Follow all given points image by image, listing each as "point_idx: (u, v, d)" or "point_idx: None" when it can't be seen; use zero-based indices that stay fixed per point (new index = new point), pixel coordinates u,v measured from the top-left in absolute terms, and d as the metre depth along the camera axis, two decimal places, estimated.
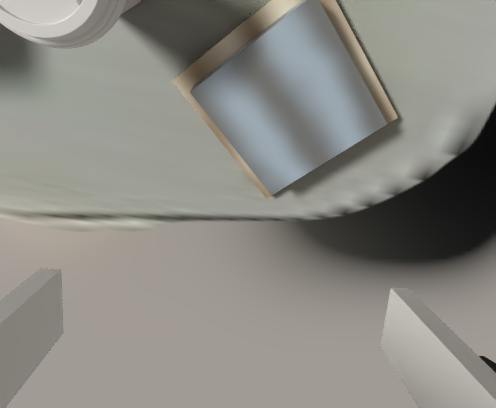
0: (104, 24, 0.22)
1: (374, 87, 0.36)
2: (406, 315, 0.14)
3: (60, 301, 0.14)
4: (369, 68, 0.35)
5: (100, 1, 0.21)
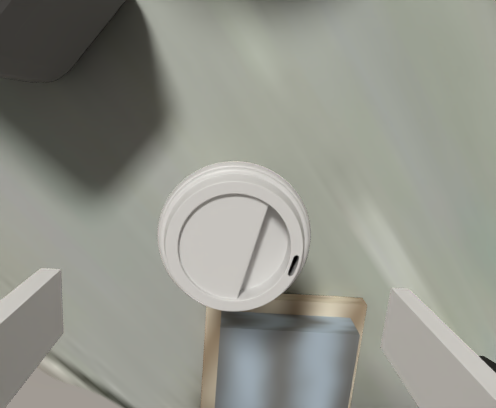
0: None
1: None
2: (406, 315, 0.14)
3: (60, 301, 0.14)
4: (351, 390, 0.40)
5: None
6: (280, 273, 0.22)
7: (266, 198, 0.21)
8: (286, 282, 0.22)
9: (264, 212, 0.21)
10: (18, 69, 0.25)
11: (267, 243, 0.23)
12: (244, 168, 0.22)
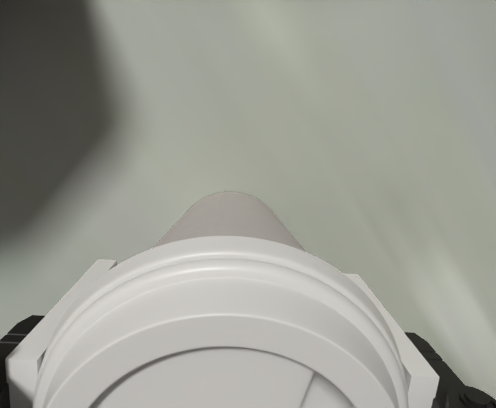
0: None
1: None
2: None
3: None
4: None
5: None
6: None
7: (312, 354, 0.07)
8: None
9: (304, 386, 0.08)
10: None
11: None
12: (249, 261, 0.08)
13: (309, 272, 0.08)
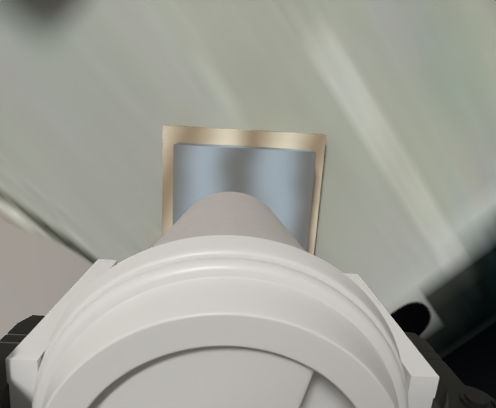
0: None
1: (308, 248, 0.40)
2: None
3: None
4: (314, 232, 0.39)
5: None
6: None
7: (312, 354, 0.07)
8: None
9: (304, 386, 0.08)
10: None
11: None
12: (248, 260, 0.08)
13: (309, 271, 0.08)
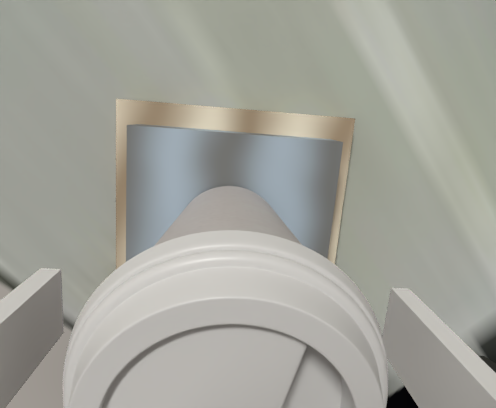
0: None
1: None
2: (406, 315, 0.14)
3: (60, 301, 0.14)
4: (333, 256, 0.28)
5: None
6: None
7: (305, 331, 0.09)
8: None
9: (298, 358, 0.09)
10: None
11: (298, 401, 0.11)
12: (251, 252, 0.09)
13: (303, 262, 0.10)
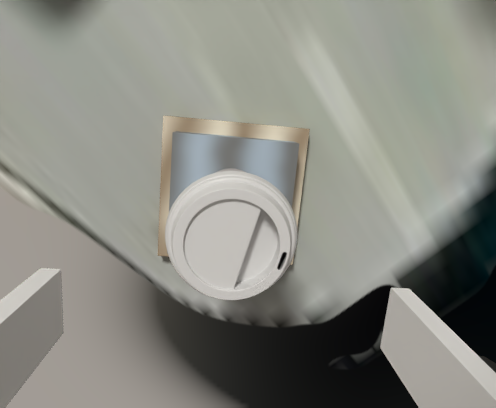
0: None
1: None
2: (406, 315, 0.14)
3: (60, 301, 0.14)
4: (297, 216, 0.43)
5: (249, 296, 0.26)
6: (271, 267, 0.26)
7: (259, 203, 0.25)
8: (275, 275, 0.26)
9: (257, 215, 0.25)
10: None
11: (260, 241, 0.26)
12: (240, 177, 0.25)
13: (260, 182, 0.26)
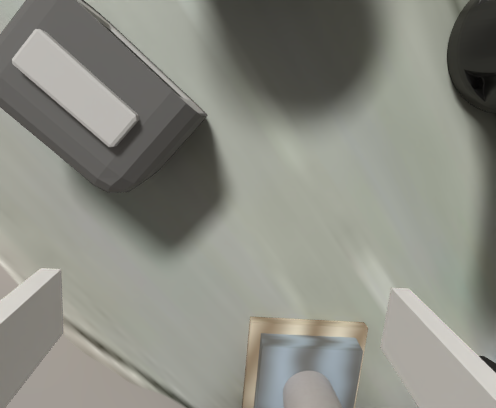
0: None
1: None
2: (406, 315, 0.14)
3: (60, 301, 0.14)
4: (356, 391, 0.53)
5: None
6: None
7: None
8: None
9: None
10: None
11: None
12: None
13: None
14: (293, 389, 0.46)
